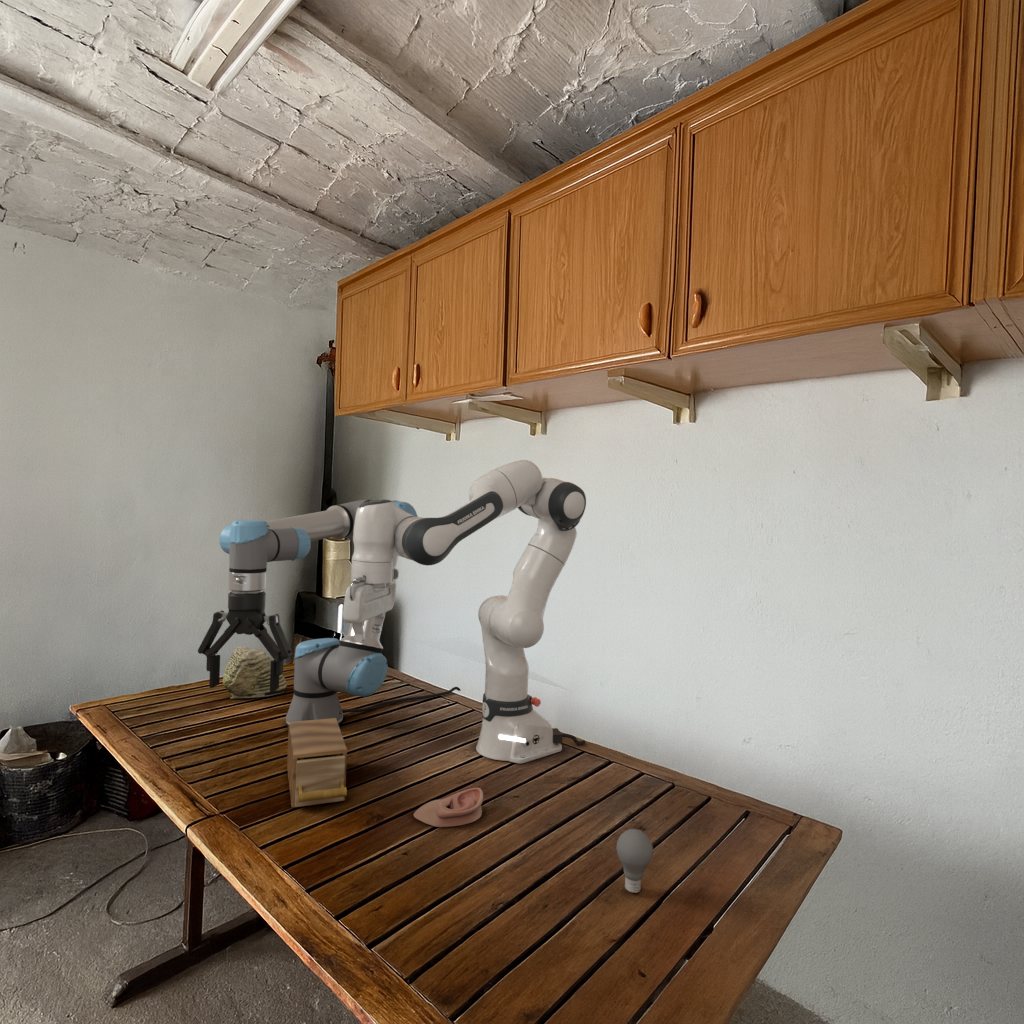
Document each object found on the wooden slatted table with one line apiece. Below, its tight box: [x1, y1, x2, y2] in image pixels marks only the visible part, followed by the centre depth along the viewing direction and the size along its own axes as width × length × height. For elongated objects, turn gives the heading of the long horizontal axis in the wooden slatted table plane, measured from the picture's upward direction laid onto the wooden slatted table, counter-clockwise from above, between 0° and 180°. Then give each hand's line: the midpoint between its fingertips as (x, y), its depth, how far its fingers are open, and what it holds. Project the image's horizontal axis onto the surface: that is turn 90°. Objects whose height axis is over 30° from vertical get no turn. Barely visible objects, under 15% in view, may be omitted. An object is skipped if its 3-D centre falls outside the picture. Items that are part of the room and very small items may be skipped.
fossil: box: [222, 646, 288, 699], centre depth 198 cm, size 9×18×15 cm, turn 132°
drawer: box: [294, 754, 348, 808], centre depth 135 cm, size 24×9×9 cm, turn 22°
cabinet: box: [286, 718, 348, 808], centre depth 140 cm, size 20×11×11 cm, turn 22°
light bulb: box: [615, 828, 654, 894], centre depth 106 cm, size 6×6×10 cm
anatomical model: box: [413, 787, 484, 828], centre depth 129 cm, size 13×4×12 cm
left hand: (244, 688), depth 138 cm, fingers open, 13 cm apart
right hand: (368, 637), depth 138 cm, fingers open, 8 cm apart
